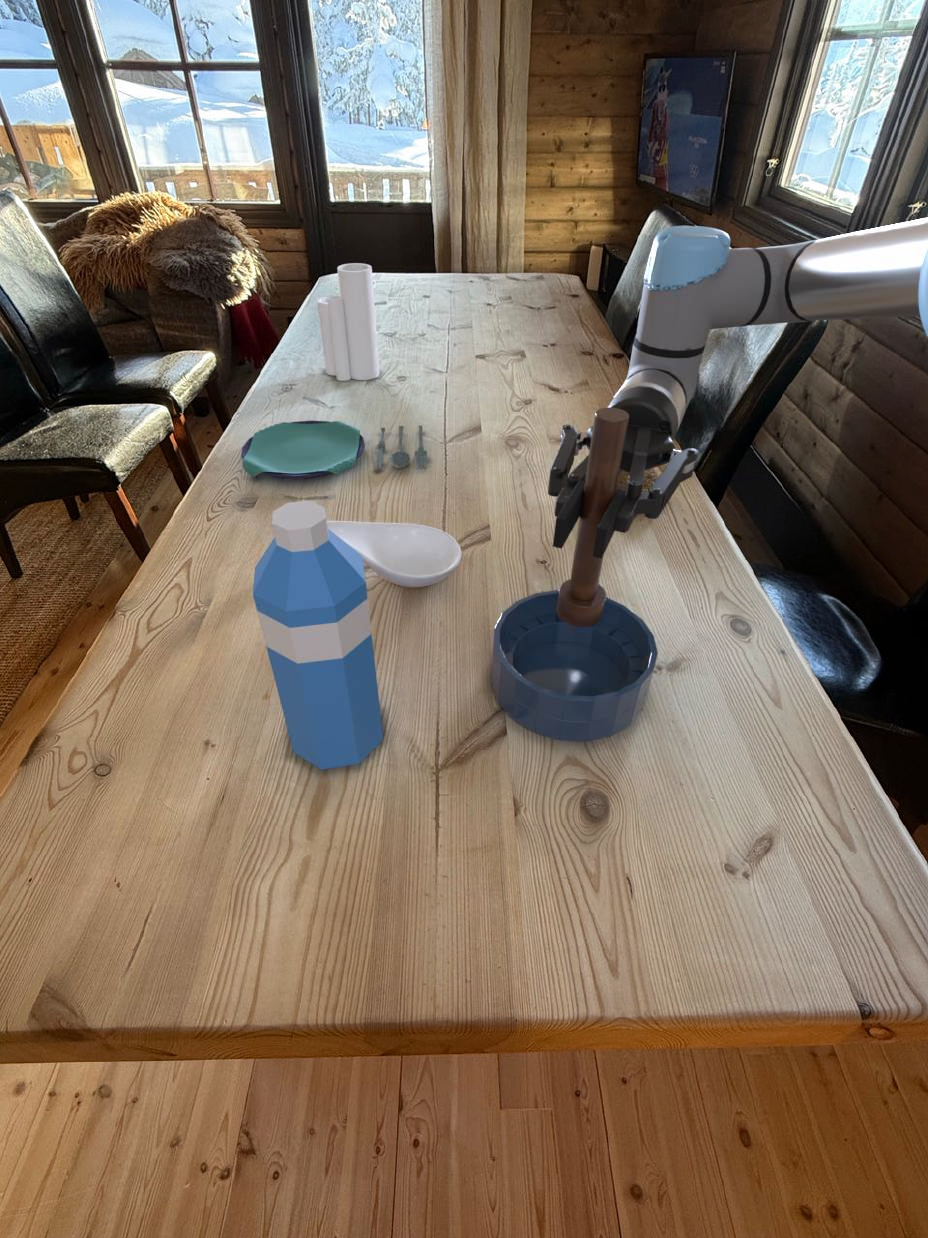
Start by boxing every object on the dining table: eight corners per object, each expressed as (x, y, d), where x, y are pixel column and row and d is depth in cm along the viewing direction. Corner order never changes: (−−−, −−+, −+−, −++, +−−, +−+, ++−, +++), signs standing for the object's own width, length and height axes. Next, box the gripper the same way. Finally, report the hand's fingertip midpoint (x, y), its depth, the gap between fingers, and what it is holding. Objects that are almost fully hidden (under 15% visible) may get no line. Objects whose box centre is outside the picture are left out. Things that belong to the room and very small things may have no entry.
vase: (381, 368, 139) (373, 263, 126) (377, 381, 133) (369, 272, 120) (328, 367, 139) (315, 262, 126) (321, 380, 133) (307, 271, 120)
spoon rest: (458, 546, 90) (459, 500, 85) (464, 600, 81) (465, 552, 76) (282, 551, 88) (273, 504, 84) (268, 607, 79) (257, 558, 75)
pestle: (610, 610, 64) (651, 412, 51) (586, 633, 61) (623, 432, 48) (572, 591, 66) (601, 397, 53) (547, 613, 63) (572, 415, 50)
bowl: (671, 677, 71) (685, 633, 67) (593, 773, 62) (603, 728, 57) (546, 615, 79) (551, 571, 75) (460, 691, 69) (460, 646, 65)
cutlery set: (255, 431, 116) (253, 418, 114) (426, 428, 117) (425, 416, 115) (231, 488, 101) (228, 475, 99) (427, 484, 102) (427, 471, 100)
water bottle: (311, 690, 69) (266, 477, 53) (396, 704, 68) (378, 490, 52) (274, 761, 62) (210, 541, 46) (368, 778, 61) (336, 558, 45)
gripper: (710, 469, 68) (669, 601, 52) (564, 440, 73) (485, 553, 57) (730, 398, 63) (691, 520, 47) (572, 372, 68) (488, 475, 52)
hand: (579, 538), depth 52 cm, fingers closed on pestle, 3 cm apart
